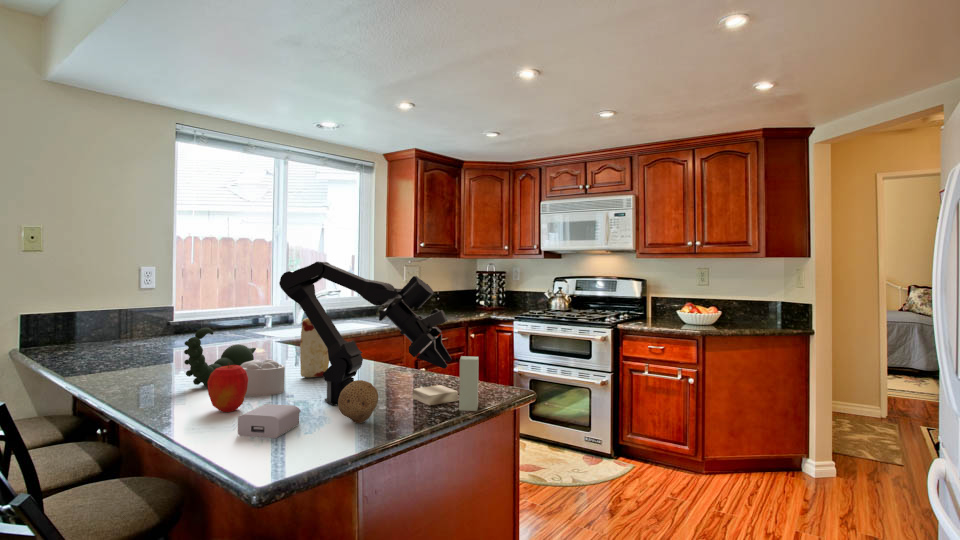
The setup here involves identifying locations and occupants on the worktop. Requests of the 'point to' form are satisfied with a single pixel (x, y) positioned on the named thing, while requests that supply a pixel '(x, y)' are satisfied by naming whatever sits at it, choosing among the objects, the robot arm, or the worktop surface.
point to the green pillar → (468, 383)
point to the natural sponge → (358, 401)
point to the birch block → (435, 395)
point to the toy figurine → (198, 361)
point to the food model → (312, 352)
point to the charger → (268, 421)
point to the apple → (227, 387)
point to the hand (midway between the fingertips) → (448, 364)
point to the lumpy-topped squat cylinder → (264, 377)
